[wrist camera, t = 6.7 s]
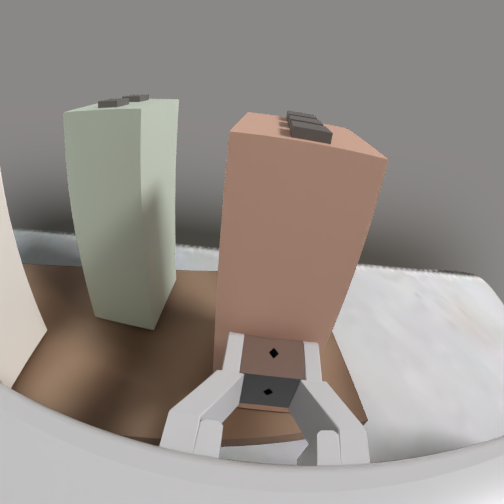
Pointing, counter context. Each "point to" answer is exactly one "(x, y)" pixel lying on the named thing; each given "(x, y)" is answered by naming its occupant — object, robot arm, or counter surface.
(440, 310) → the counter surface
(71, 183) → the tile two
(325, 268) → the tile three
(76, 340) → the board
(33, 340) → the tile one
